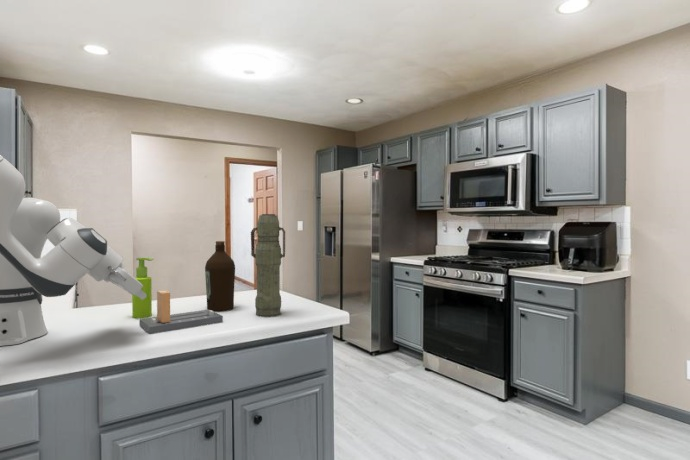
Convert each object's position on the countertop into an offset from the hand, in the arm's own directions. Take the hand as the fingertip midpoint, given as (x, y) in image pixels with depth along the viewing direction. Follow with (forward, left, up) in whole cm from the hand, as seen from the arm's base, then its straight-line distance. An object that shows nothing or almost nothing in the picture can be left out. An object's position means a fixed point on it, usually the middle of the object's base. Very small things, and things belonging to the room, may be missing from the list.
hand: (143, 297), depth 122 cm
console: (+12, +3, -10) cm, 16 cm away
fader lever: (+6, +1, -8) cm, 10 cm away
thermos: (+40, -2, -11) cm, 41 cm away
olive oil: (+30, +16, -11) cm, 35 cm away
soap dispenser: (+5, +21, -11) cm, 24 cm away
